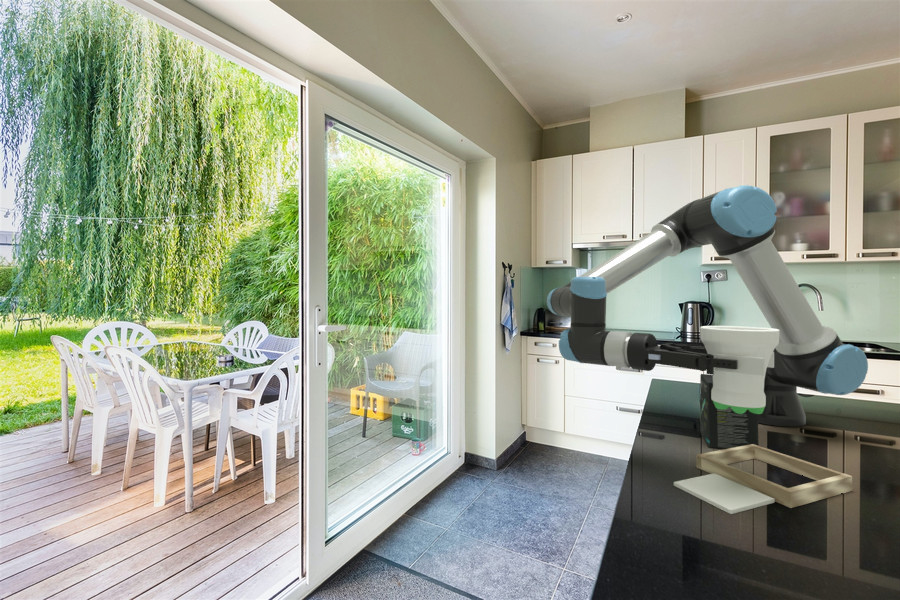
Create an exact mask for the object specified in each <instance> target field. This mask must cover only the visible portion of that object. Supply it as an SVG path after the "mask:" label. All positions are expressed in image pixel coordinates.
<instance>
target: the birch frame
mask: <svg viewBox="0 0 900 600" xmlns="http://www.w3.org/2000/svg"><path fill="white" fill-rule="evenodd" d="M695 457H696V458H695V459H696V460H695V462H696V466H695V468H697V469H699V470H701V471H704V472H706V473H708V474H713V473H715V474H717V475H720V476H722V477H724V478H727V479H729V480H731V481H734V482H736V483H739V484H741V485H743V486H746V487H748V488H750V489H753V490H755V491H757V492H760V493H762V494H764V495H767V496H769V497H771V498H774V499H775V502H776V503H778V504H780V505H782V506H785V507H787V508H789V509H792V508H795V507H800V506H803V505H808V504H810V503H814V502H817V501H820V500H824V499H828V498H831V497H836V496H839V495H842V494H841V493H843V494H845V493H846V494H847V493H849V492H853V476H852V475H849V474H847V473H843V472H841V471H837V470H834V469H831V468H828V467H825V466H822V465H818V464H816V463H813V462H810V461H807V460H803V459H801V458H797V457H795V456H791V455H788V454H784V453H781V452H778V451H775V450H773V449H769V448H766V447H763V446H760V445H759V446H757V445H754V444H750V445H745V446H740V447H734V448H729V449H719V450H715V451H709V452H708V451H707V452H704V453H698V454H696V456H695ZM748 460H758V461H760V462H764V463H767V464H769V465H771V466H774V467H778V468H780V469H783V470H787V471H789V472H792V473H794V474H797V475H800V476H802V475H803V477H805V478H809V479H812V480H814V481H811V482H807V483H803V484H798V485H796V486H791V487H786V486H783V485H780V484H778V483H775V482H773V481H770V480H768V479H765V478H762V477H760V476H757V475H755V474H753V473H750V472H747V471H745V470H742V469H739V468H737V467H736V466H735V467H734V466H732V465H731V464H734V463H740V462H744V461H748Z"/></svg>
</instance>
